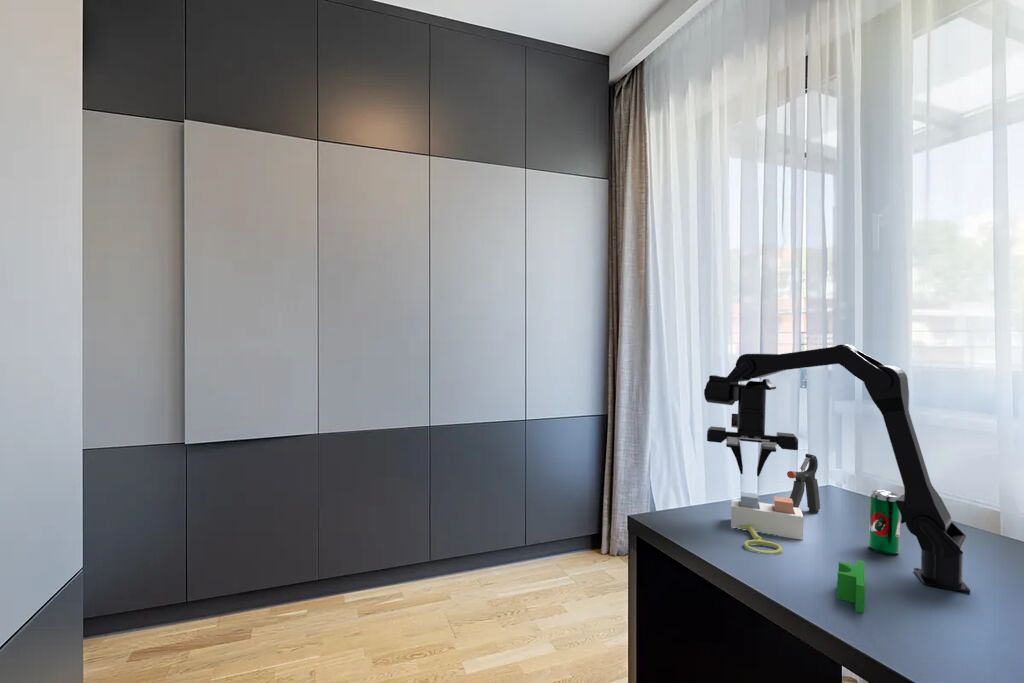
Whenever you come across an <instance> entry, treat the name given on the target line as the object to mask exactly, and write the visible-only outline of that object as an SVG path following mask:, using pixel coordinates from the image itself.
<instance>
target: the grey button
mask: <svg viewBox="0 0 1024 683" xmlns="http://www.w3.org/2000/svg"><path fill="white" fill-rule="evenodd" d="M740 500H741V503H740V507H747V508H754V509H758V502H759V494H758V493H752V492H745V491H740Z"/></svg>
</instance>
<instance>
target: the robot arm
mask: <svg viewBox="0 0 1024 683" xmlns="http://www.w3.org/2000/svg"><path fill="white" fill-rule="evenodd" d="M830 365H831V366H832V365H840V366H841V367H843V368H844V369H845V370H847V371H848V372H849V373H850V374H852V375H853V376H854V377H856V378H857V379H858V380H860V381H861V382H863V384H864V387H865V388H866V390H867V392H868V394H869V396H870V398H871V400H872V402H873V403H874V404H875V406H876V407H877V409H878V411H879V412H880V413H881V415H882V417H883V421H884V424H885V427H886V431H887V434H888V437H889V442H890V445H891V447H892V452H893V454H894V457H895V461H896V464H897V467H898V471H899V474H900V478H901V481H902V484H903V489H904V492H903V493H904V494H901V495H900V496H898V499H897V500H896V504H897V507H898V509H899V511H900V524H905V526H906V528H907V531H909V533H910V534H912V535H914V536H915V537H916V539H917V542H918V544H919V547H920V549H921V554H920V555H921V557H920V562H921V563H920V568H919V567H914V568H913V571H914V573H915V574H916V575H917V577H918V578H919V579H920V581H921V582H922V584H924V585H925V586H928V587H929V586H930V587H936V588H941V589H946V590H951V591H958V592H963V593H968V594H969V593H971V589H970V588H969V587H968V586H967V584H966V583H965V582H964V581H963V561H964V557H963V556H964V551H963V550H961V549H962V548H963V545H964V543H965V541H966V540H967V535H966V534H965V533H964V532H963V531H962V530H961V528H959V527H958V526H957V525H956V524H955V523H954V522H953V521H952V517H951V514H950V512H949V510H948V508H947V507H946V505H945V503H944V501H943V499H942V497H941V496H940V494H939V493H938V492H937V490H936V489H935V487H934V486H933V484H932V482H931V479H930V475H929V473H928V470H927V466H926V463H925V460H924V456H923V453H922V450H921V446H920V443H919V440H918V436H917V433H916V431H915V427H914V423H913V420H912V417H911V415H910V411H909V410H910V409H909V404H910V402H909V400H910V399H909V398H910V391H909V380H908V375H907V374H906V372H905V371H904V370H903V369H901V368H899V366H895V365H891V364H890V365H885V364H884V363H882V362H880V361H879V360H877V359H876V358H873V357H872V356H870V355H868V354H865V353H864V352H862V351H860V350H858V349H857V348H856V347H855V346H854V345H851V344H837V345H835V346H829V347H828V346H827V347H822V348H816V349H815V348H814V349H808V350H802V351H801V350H800V351H795V352H786V353H780V354H779V353H744V354H741V355H740V356H739V357H738V358H737V359H736V362H735V366H734V368H733V369H732V371H730V373H729V374H728V375H727V376H719V375H716V374H715V375H709V377H708V381H707V382H706V384H705V388H704V389H703V394H704V400H705V401H706V402H707V403H709V404H710V403H711V404H716V405H717V404H718V405H719V404H720V405H726V406H733V405H734V404H735V403H736V402H738V403H737V405H738V406H737V413H731V423H730V424H731V426H730V427H731V428H736V430H737V431H736V432H735V431H727V429H726V428H727V427H719V426H709V428H707V431H706V432H707V433H706V441H707V442H710V443H711V442H712V443H719V444H721V443H722V442H724V441H725V445H726V446H725V447H727V448H730V450H731V451H732V453H733V455H734V458H735V460H736V463H737V466H738V469H739V473H740V474H741V475H743V474H744V472H743V471H744V467H743V459H742V458H743V456H742V449H741V442H751V443H760V448H759V454H758V462H757V467H756V477H760V475H761V473H762V470H763V469H764V468H763V467H764V465H765V463H766V461H767V460H768V458H769V456H770V455H771V453H775V452H777V445H778V447H780V448H781V449H782V450H789V451H799V439H798V438H797V436H796V435H795V434H794V433H789V432H788V433H787V432H776V435H771V434H765V433H766V406H767V405H766V403H767V402H766V398H767V396H766V395H767V391H772V390H776V389H777V386H776V385H775V384H774V383H772V382H771V381H770V379H769V378H766V377H768V376H771V375H776V374H778V373H780V372H781V373H782V372H784V371H789V370H790V371H791V370H796V369H806V368H813V367H823V366H830ZM761 378H765V379H763V380H762V381H755V380H752V379H761ZM741 382H746V384H742V383H741Z"/></svg>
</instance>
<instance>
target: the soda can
mask: <svg viewBox="0 0 1024 683" xmlns="http://www.w3.org/2000/svg"><path fill="white" fill-rule="evenodd" d="M898 498H899V495H898V493H895V492H892V491H888V490H880V489H874V490H872V493H871V494H870V496H869V499H870V500H869V522H868V523H869V527H868V528H869V530H868V532H869V533H868V535H869V536H868V545H869V547H870V548H871V549H872V550H873V551H874V552H876V553H880V554H884V555H888V556H891V555H896V554H898V553H899V552H900V536H901V535H900V530H901V513H900V511H899V509H898V507H897V504H896V500H897V499H898Z"/></svg>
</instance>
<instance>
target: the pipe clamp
mask: <svg viewBox="0 0 1024 683" xmlns="http://www.w3.org/2000/svg"><path fill="white" fill-rule="evenodd" d="M865 573H866V572H865V561H864V560H860V559H856V565H855V564H851V563H847V562H843V561H842V562H841V561H838V571H837V585H836V591H837V592H836V599H839V600H842V601H846V602H850V603H854V604H855V612H858V613H862V614H865V590H866V580H865V579H866V578H865V577H866V576H865Z"/></svg>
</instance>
